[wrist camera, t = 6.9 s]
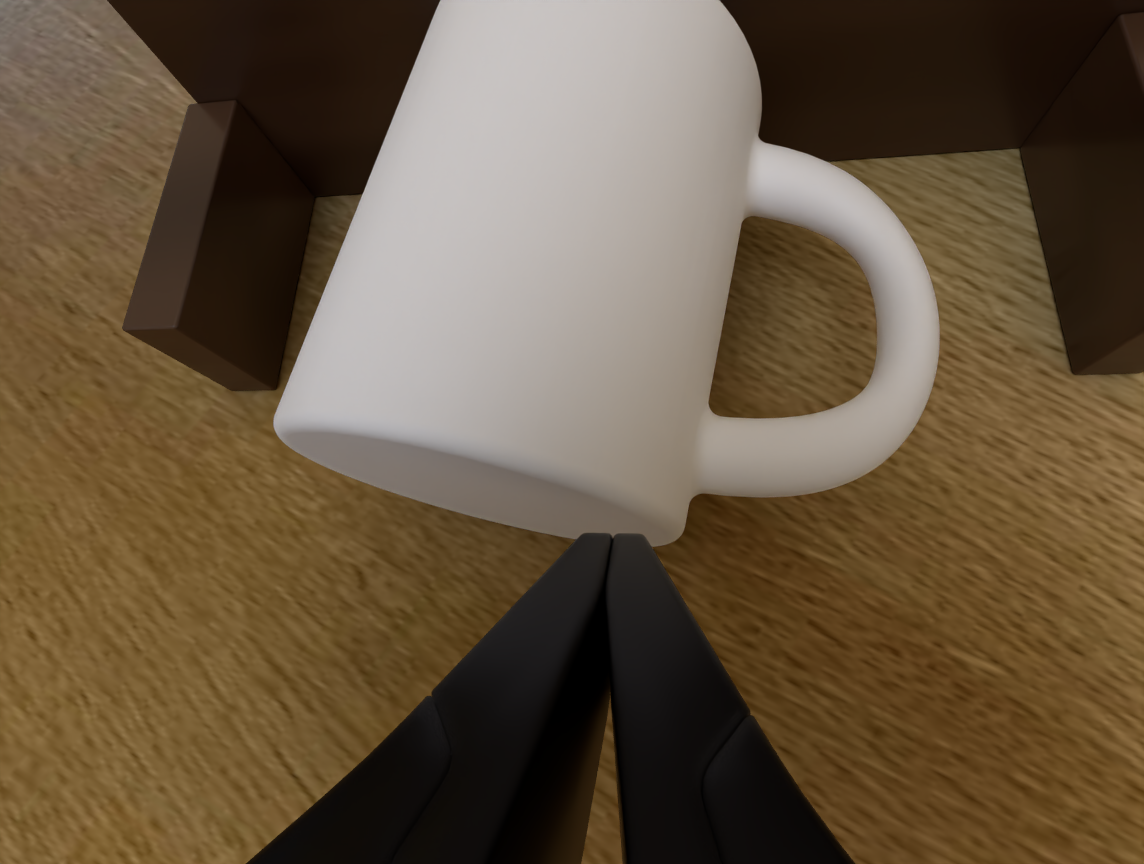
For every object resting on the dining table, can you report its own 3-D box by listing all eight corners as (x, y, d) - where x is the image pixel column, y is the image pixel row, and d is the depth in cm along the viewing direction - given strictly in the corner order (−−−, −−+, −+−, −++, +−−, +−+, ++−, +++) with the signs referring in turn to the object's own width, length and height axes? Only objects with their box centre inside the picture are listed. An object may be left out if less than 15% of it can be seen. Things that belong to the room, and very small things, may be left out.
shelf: (1139, 374, 15) (1525, 167, 8) (231, 391, 18) (-11, 257, 12) (1061, 89, 18) (1302, -238, 11) (285, 152, 21) (114, -65, 14)
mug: (386, 498, 17) (156, 389, 9) (485, 197, 19) (373, -80, 12) (848, 603, 14) (1063, 573, 7) (886, 242, 17) (1069, -72, 9)
